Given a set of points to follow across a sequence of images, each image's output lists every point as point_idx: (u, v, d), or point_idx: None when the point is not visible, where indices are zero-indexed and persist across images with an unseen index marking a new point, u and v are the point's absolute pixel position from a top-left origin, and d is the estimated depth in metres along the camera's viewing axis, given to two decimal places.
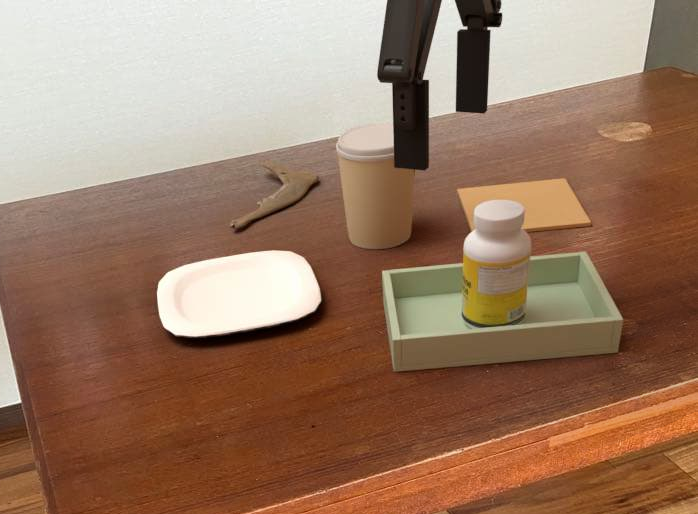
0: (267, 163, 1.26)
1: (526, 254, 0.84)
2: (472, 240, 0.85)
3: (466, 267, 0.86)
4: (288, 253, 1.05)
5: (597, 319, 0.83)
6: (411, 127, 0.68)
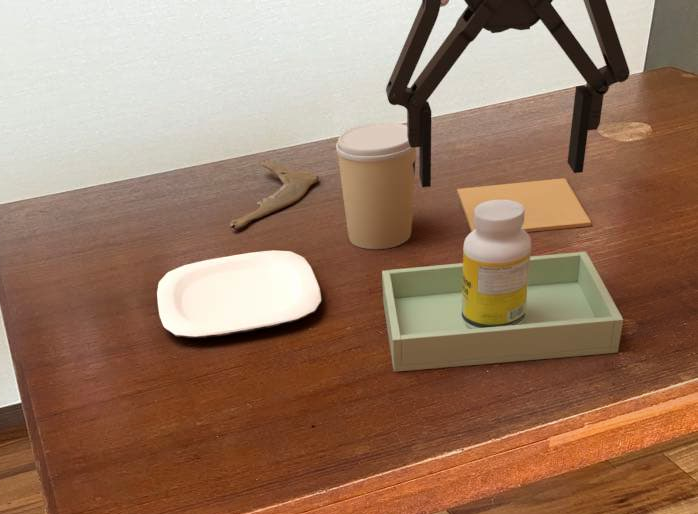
0: (267, 163, 1.26)
1: (526, 254, 0.84)
2: (472, 240, 0.85)
3: (466, 267, 0.86)
4: (288, 253, 1.05)
5: (597, 319, 0.83)
6: (410, 145, 0.79)
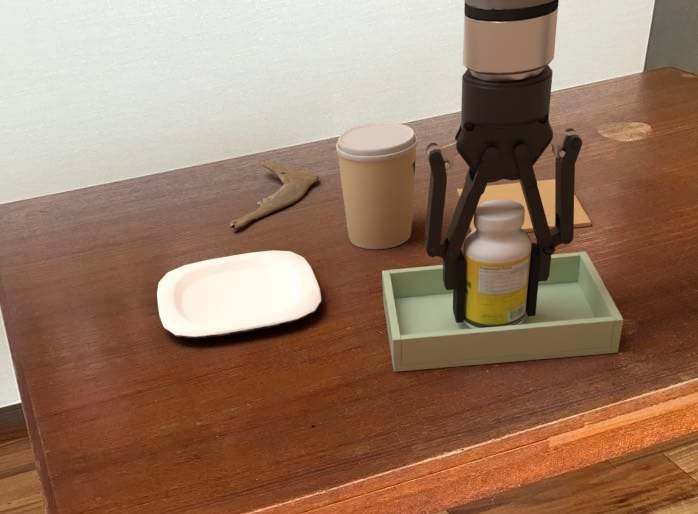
0: (267, 163, 1.26)
1: (526, 254, 0.84)
2: (473, 240, 0.85)
3: (466, 267, 0.86)
4: (288, 253, 1.05)
5: (597, 319, 0.83)
6: (445, 287, 0.88)
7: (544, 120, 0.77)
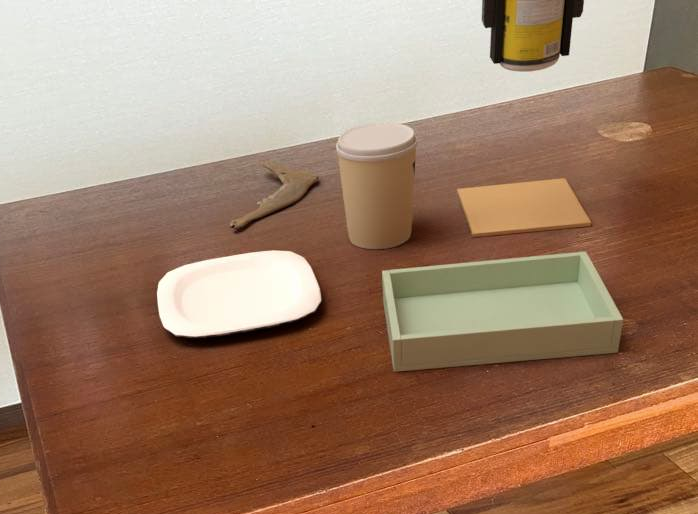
0: (267, 163, 1.26)
1: None
2: None
3: (505, 0, 0.91)
4: (288, 253, 1.05)
5: (597, 319, 0.83)
6: (484, 25, 0.93)
7: None
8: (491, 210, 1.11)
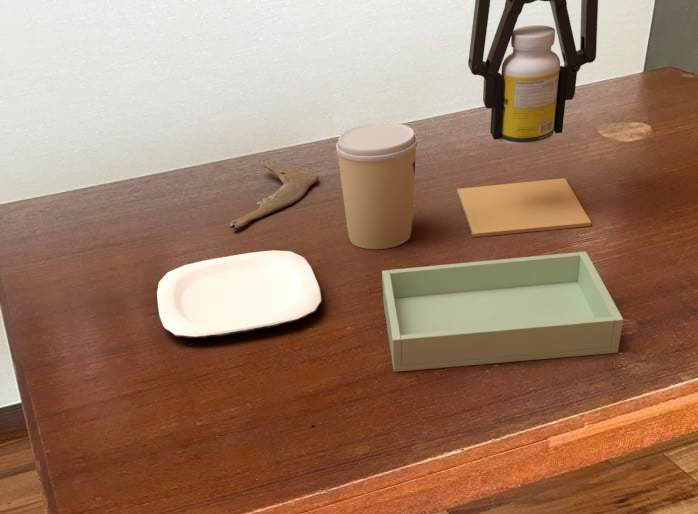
0: (267, 163, 1.26)
1: (556, 70, 0.99)
2: (510, 60, 0.99)
3: (504, 85, 1.01)
4: (288, 253, 1.05)
5: (597, 319, 0.83)
6: (485, 106, 1.03)
7: None
8: (491, 210, 1.11)
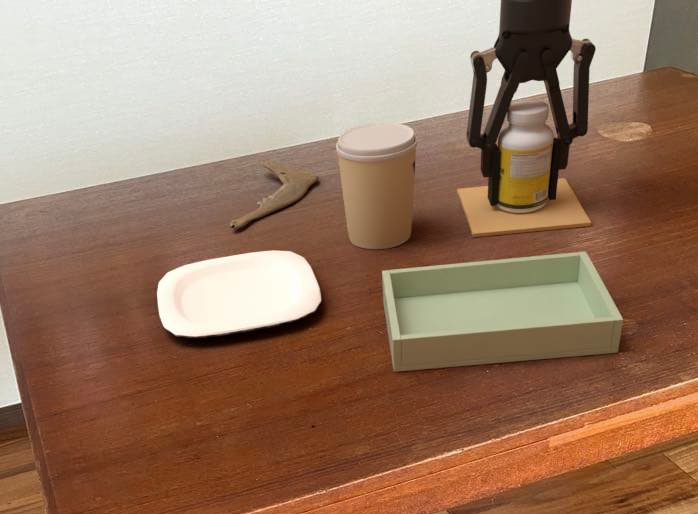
0: (267, 163, 1.26)
1: (550, 143, 1.04)
2: (506, 133, 1.05)
3: (500, 156, 1.06)
4: (288, 253, 1.05)
5: (597, 319, 0.83)
6: (483, 175, 1.08)
7: (565, 30, 0.97)
8: (491, 210, 1.11)
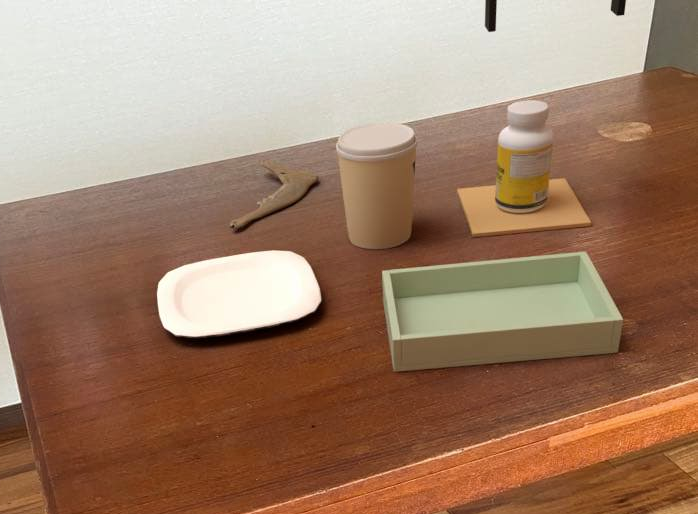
0: (267, 163, 1.26)
1: (549, 143, 1.04)
2: (506, 133, 1.05)
3: (500, 156, 1.06)
4: (288, 253, 1.05)
5: (597, 319, 0.83)
6: None
7: None
8: (491, 210, 1.11)
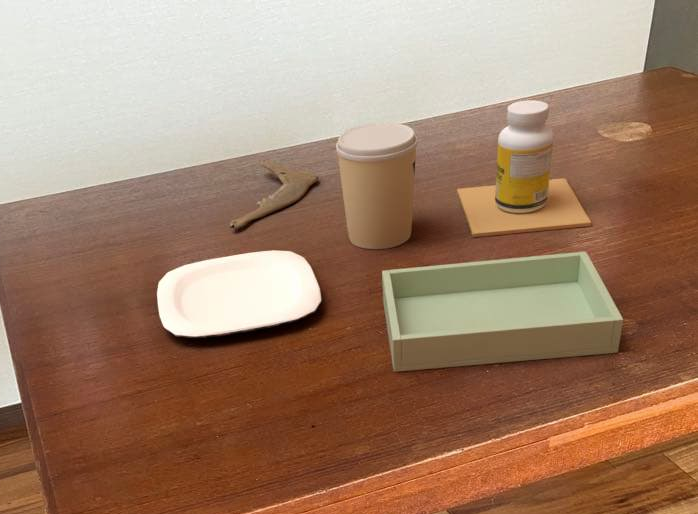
0: (267, 163, 1.26)
1: (549, 143, 1.04)
2: (506, 133, 1.05)
3: (500, 156, 1.06)
4: (288, 253, 1.05)
5: (597, 319, 0.83)
6: None
7: None
8: (491, 210, 1.11)
